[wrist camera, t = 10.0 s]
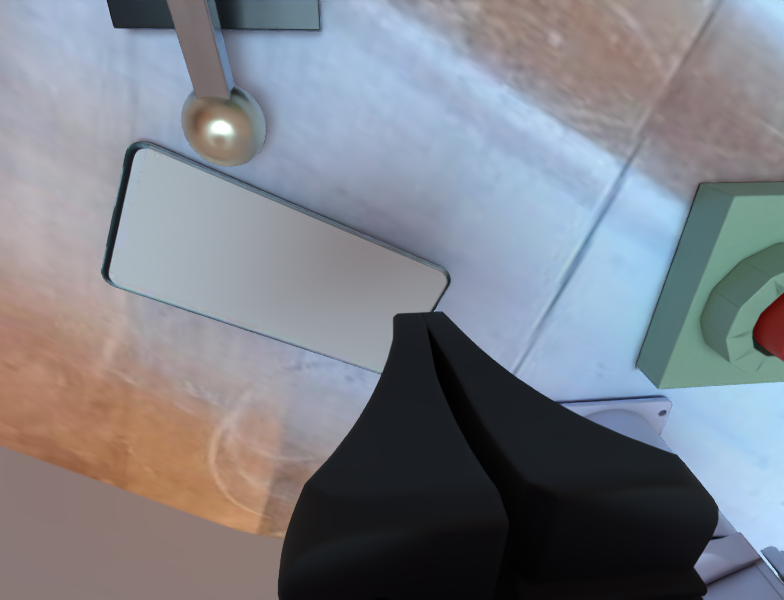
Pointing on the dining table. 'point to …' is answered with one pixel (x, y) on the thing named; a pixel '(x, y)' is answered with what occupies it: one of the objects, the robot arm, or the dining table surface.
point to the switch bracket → (223, 15)
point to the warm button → (771, 328)
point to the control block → (720, 291)
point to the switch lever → (214, 90)
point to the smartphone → (259, 261)
